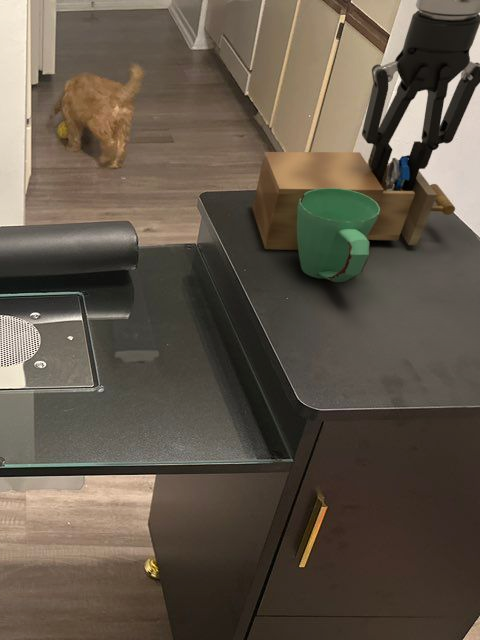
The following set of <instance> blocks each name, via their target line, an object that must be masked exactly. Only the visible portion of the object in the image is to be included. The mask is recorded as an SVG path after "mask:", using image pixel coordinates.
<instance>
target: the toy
mask: <svg viewBox="0 0 480 640" xmlns="http://www.w3.org/2000/svg"><path fill="white" fill-rule="evenodd" d="M409 156H410V154H408V155H402V156H400V158H399V159H398V158H397V157H392V158H391V161H390V162H389V163H390V165H389V166H388V173H387V178H386V181H385V182H387V183H386V186H387V190H392V189H393V191H400V190H401V188H402V187H403V184H404V181H405V179H406V180H408V181H409V177H410V173H409V167H408V166H407V163H408V158H409ZM393 186H394V188H393Z"/></svg>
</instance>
